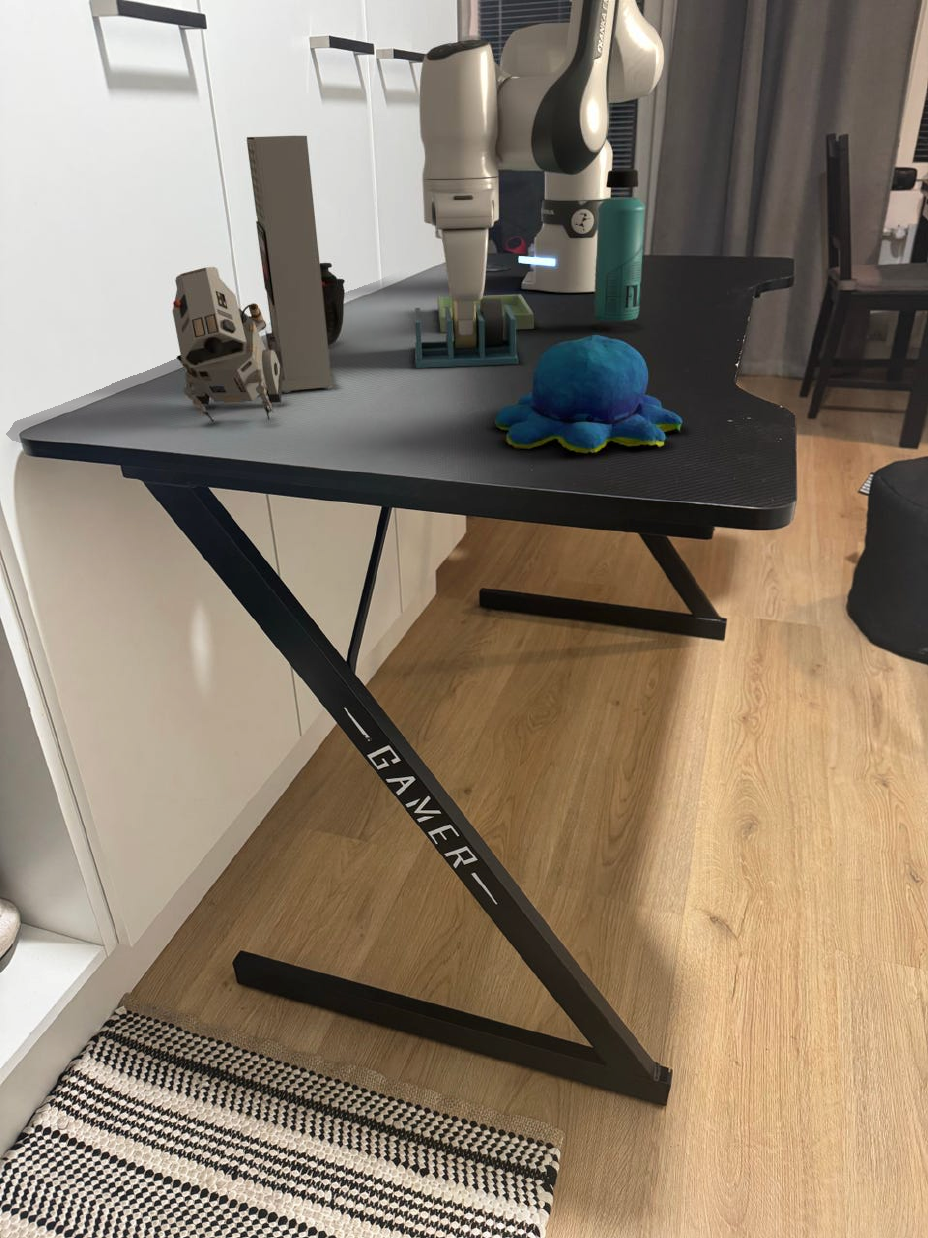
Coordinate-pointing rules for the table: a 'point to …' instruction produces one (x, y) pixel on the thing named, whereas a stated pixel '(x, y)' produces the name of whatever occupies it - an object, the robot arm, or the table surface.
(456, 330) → the masking tape
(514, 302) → the tray
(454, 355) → the tape rack
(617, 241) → the beverage bottle
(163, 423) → the table surface
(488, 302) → the vinyl tape
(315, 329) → the tall beige panel
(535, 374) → the plush toy
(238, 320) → the figurine
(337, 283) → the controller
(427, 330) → the table surface
